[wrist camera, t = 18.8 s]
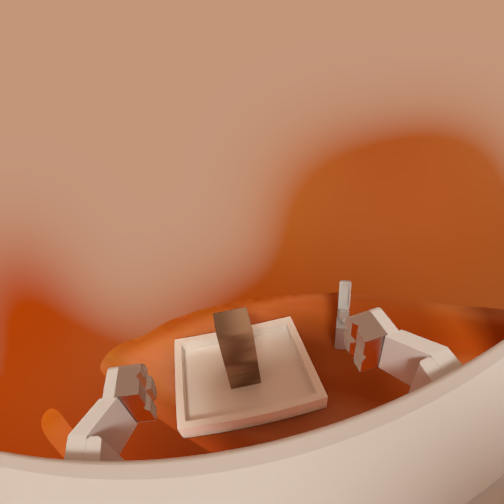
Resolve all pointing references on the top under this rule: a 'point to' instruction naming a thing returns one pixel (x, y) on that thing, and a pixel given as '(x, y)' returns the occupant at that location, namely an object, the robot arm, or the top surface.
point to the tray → (249, 397)
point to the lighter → (342, 313)
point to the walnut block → (237, 347)
